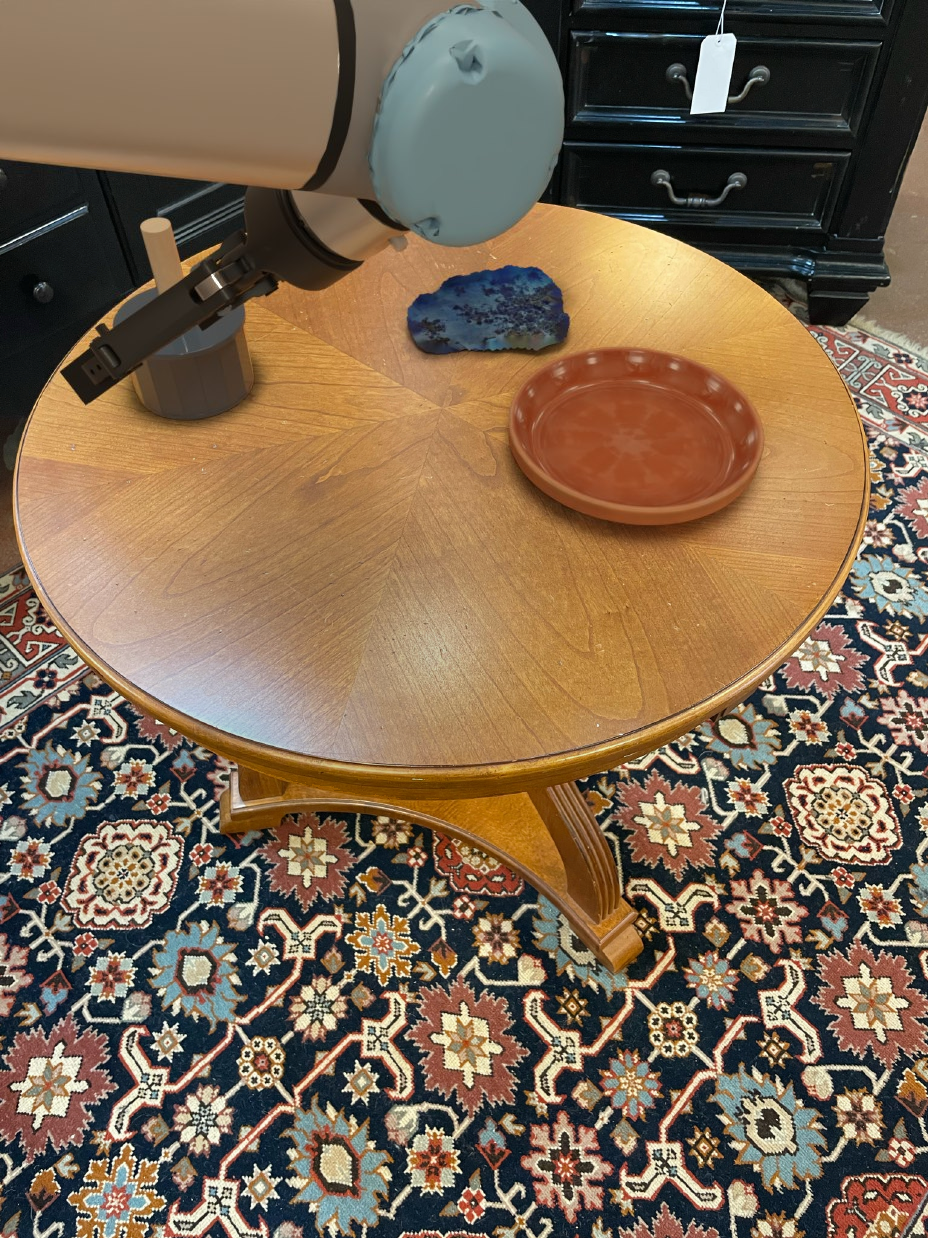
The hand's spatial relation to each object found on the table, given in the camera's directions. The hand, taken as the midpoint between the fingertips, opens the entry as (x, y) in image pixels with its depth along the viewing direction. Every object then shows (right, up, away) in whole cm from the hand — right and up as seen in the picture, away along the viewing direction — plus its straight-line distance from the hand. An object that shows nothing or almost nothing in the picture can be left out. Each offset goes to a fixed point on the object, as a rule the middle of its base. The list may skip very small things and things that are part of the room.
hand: (139, 348), depth 71 cm
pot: (-3, +3, +25) cm, 25 cm away
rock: (+27, +12, +32) cm, 43 cm away
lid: (-3, +8, +19) cm, 21 cm away
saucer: (+39, -5, +18) cm, 44 cm away
